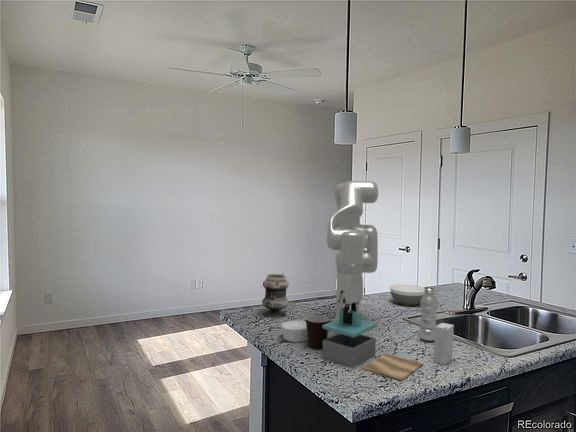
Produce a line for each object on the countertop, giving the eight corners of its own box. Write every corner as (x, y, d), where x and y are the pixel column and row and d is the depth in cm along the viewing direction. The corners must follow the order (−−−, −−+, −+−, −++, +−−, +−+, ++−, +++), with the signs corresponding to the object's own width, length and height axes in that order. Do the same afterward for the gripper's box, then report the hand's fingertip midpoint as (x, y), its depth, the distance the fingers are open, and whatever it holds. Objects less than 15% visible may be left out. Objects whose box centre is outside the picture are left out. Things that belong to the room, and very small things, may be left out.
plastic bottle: (436, 338, 160) (438, 287, 159) (437, 344, 153) (438, 290, 153) (419, 336, 162) (420, 285, 161) (418, 342, 155) (420, 289, 155)
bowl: (432, 308, 204) (432, 292, 204) (393, 308, 204) (394, 291, 204) (420, 299, 223) (420, 284, 222) (385, 298, 223) (385, 283, 223)
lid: (345, 320, 149) (346, 303, 149) (376, 328, 141) (377, 310, 141) (322, 330, 138) (322, 312, 138) (354, 339, 130) (354, 319, 130)
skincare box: (439, 357, 141) (440, 321, 140) (453, 360, 138) (454, 324, 137) (432, 362, 136) (434, 325, 136) (446, 366, 133) (447, 328, 133)
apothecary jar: (279, 320, 180) (280, 279, 180) (256, 315, 186) (257, 276, 186) (293, 313, 191) (293, 274, 190) (271, 309, 197) (271, 272, 196)
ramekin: (276, 340, 154) (276, 326, 154) (287, 332, 165) (287, 319, 164) (304, 345, 150) (305, 330, 150) (314, 336, 160) (314, 322, 160)
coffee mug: (322, 352, 143) (322, 323, 143) (300, 347, 147) (301, 319, 147) (336, 342, 153) (337, 316, 152) (316, 338, 157) (316, 312, 157)
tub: (345, 346, 149) (345, 330, 148) (375, 355, 141) (375, 338, 141) (322, 357, 138) (322, 340, 138) (353, 367, 130) (353, 349, 130)
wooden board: (386, 355, 142) (386, 353, 142) (423, 365, 133) (423, 363, 133) (362, 369, 129) (362, 367, 129) (400, 381, 121) (401, 379, 121)
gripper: (354, 264, 147) (353, 315, 148) (328, 270, 135) (326, 325, 136) (373, 267, 142) (371, 319, 143) (347, 273, 130) (346, 331, 131)
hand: (349, 322), depth 139 cm, fingers closed on lid
